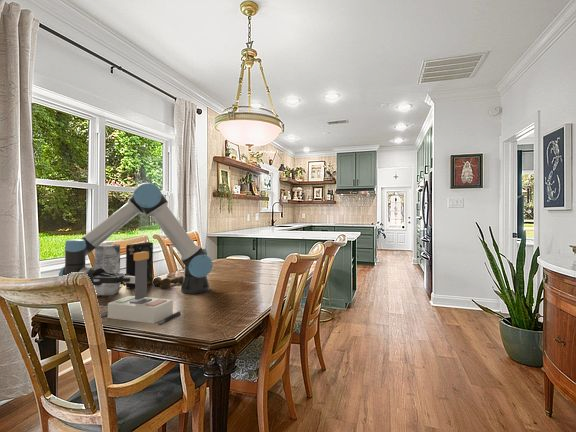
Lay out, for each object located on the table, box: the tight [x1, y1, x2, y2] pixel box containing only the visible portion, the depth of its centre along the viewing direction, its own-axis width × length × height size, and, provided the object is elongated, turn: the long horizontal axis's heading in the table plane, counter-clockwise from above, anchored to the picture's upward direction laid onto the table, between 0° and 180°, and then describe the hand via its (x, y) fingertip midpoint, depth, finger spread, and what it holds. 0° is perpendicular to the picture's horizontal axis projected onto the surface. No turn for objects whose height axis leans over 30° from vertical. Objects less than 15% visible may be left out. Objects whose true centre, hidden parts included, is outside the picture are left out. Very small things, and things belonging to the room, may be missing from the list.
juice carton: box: [94, 241, 121, 296], centre depth 164 cm, size 9×10×27 cm
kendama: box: [150, 275, 184, 290], centre depth 183 cm, size 6×10×20 cm
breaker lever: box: [134, 251, 149, 300], centre depth 130 cm, size 2×6×19 cm, turn 165°
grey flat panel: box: [100, 310, 181, 326], centre depth 131 cm, size 29×13×1 cm, turn 75°
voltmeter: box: [125, 241, 154, 289], centre depth 182 cm, size 16×9×25 cm, turn 168°
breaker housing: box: [107, 295, 174, 324], centre depth 130 cm, size 22×12×7 cm, turn 75°
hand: (137, 280), depth 130 cm, fingers closed
